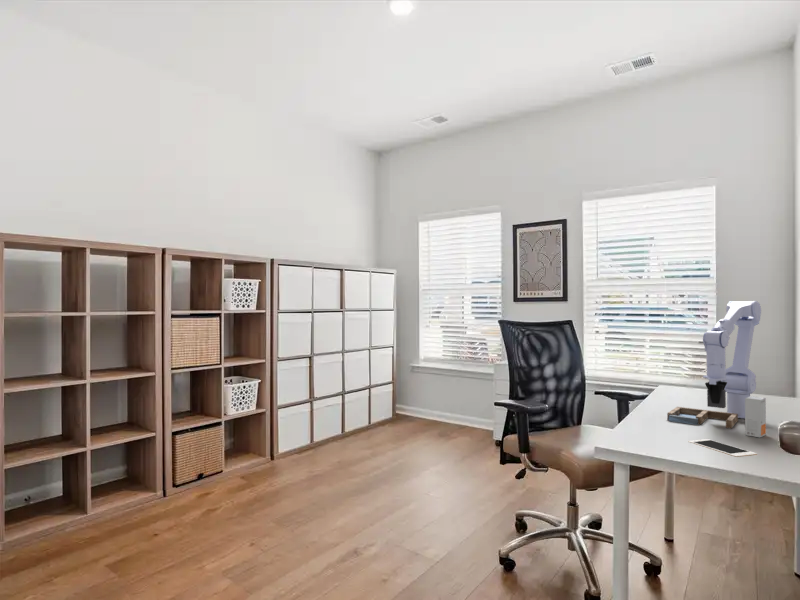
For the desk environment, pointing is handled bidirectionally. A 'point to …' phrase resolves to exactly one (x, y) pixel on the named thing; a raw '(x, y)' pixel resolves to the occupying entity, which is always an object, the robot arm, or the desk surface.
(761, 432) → the skincare box
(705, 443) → the cell phone
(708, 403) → the tall grey box
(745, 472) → the desk surface
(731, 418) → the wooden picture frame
